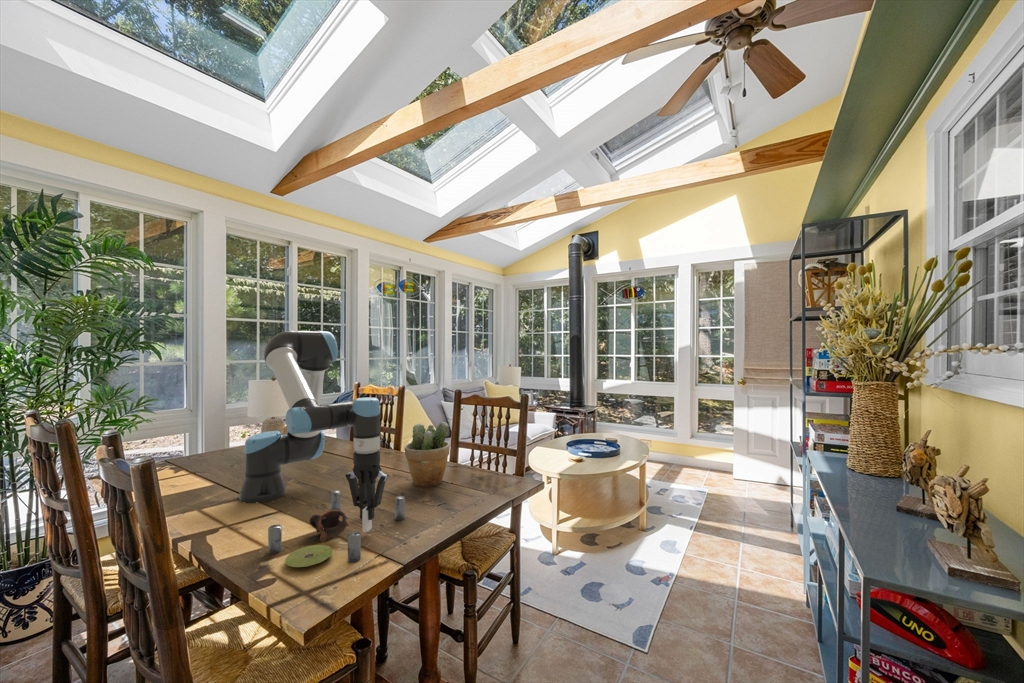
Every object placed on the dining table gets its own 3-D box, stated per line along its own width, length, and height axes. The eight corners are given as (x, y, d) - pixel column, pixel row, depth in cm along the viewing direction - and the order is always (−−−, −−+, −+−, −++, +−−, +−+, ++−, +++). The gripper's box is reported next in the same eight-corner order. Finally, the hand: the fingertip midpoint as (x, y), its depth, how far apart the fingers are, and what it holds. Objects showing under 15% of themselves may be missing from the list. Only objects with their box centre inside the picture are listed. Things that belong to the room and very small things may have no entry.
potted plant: (404, 493, 158) (404, 427, 158) (404, 477, 176) (403, 418, 176) (452, 488, 163) (452, 424, 163) (447, 473, 181) (447, 416, 181)
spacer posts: (265, 555, 112) (265, 529, 112) (334, 510, 142) (334, 489, 142) (356, 565, 107) (356, 538, 107) (408, 516, 137) (407, 495, 137)
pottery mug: (354, 527, 129) (354, 509, 125) (339, 555, 120) (338, 536, 117) (317, 518, 129) (316, 500, 125) (299, 545, 121) (297, 526, 117)
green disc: (330, 547, 116) (330, 540, 116) (334, 566, 106) (334, 559, 106) (285, 558, 111) (285, 550, 111) (284, 579, 101) (284, 571, 101)
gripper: (339, 452, 121) (339, 533, 121) (380, 454, 118) (381, 537, 118) (354, 446, 128) (354, 522, 128) (393, 448, 125) (393, 526, 125)
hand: (367, 529), depth 123 cm, fingers closed
